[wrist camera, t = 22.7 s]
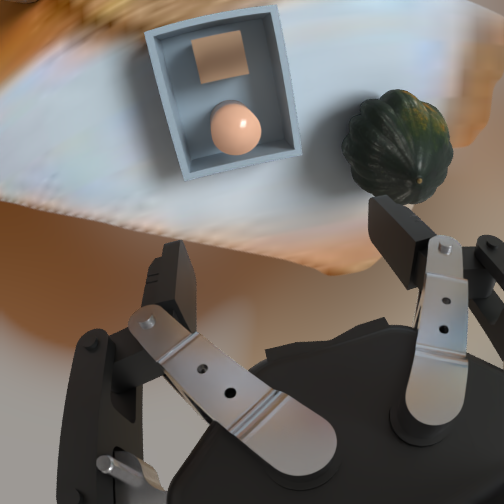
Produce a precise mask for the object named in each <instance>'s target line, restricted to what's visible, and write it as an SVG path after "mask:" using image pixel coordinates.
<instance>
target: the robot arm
mask: <svg viewBox="0 0 504 504" xmlns="http://www.w3.org/2000/svg"><path fill="white" fill-rule="evenodd" d="M6 1H12V2H19V3H31V2H35V1H37V0H6ZM368 232H369V237H370V239H371V241H372V243H373V244H374V246H375V247H376V248H377V250H378V251H379V252H380V253H381V255H382V256H383V257H384V259H385V260H386V261H387V263H388V264H389V265H390V267H391V268H392V270H393V271H394V272H395V274H396V275H397V276H398V278H399V279H400V281H401V282H402V283H403V285H404V286H405V288H406V289H407V290H410V289H413V288H416V287H418V288H419V292H418V297H417V303H416V309H415V314H414V319H413V325H412V327H408V326H403V325H389V324H388V323H387V321H386V319H385V317H383V318H379V319H376V320H373V321H370V322H367V323H364V324H360V325H358V326H355V327H354V328H352V329H350V330H348V331H346V332H345V333H343V334H341V335H339V336H337V337H336V338H334V339H332V340H329V341H315V342H314V341H313V342H295V343H291V344H287V345H283V346H279V347H275V348H270V349H266V350H265V352H266V357H267V359H265V360H263V361H261V362H259V363H258V364H256V365H255V366H253V367H252V368H250V369H249V370H248V371H247V370H246V369H245V368H243V367H242V366H241V365H239V364H238V363H237V362H236V361H234V360H233V359H232V358H230V357H229V356H228V355H226V354H225V353H224V352H223V351H221V350H220V349H219V348H217V347H216V346H215V345H214V344H213V343H211V342H210V341H209V340H207V339H206V338H205V337H204V336H203V335H201V334H200V333H198V332H196V277H195V273H194V270H193V266H192V264H191V261H190V259H189V256H188V253H187V251H186V248H185V245H184V243H183V241H182V240H178V241H174V242H170V243H167V244H164V247H163V252H162V257H159V258H155V259H154V261H153V262H152V264H151V265H150V267H149V269H148V274H147V279H146V285H145V289H144V294H143V299H142V305H141V308H140V309H138V310H137V311H135V312H134V313H133V314H132V316H131V317H130V319H129V321H128V327H127V328H125V329H123V330H121V331H119V332H117V333H114V334H112V335H110V336H109V335H108V334H107V332H106V331H104V330H103V329H93V330H90V331H88V332H87V333H85V334H84V335H83V336H82V337H81V338H80V339H79V341H78V343H77V345H76V350H75V354H74V358H73V363H72V368H71V373H70V378H69V383H68V389H67V394H66V400H65V406H64V414H63V420H62V428H61V436H60V445H59V456H58V469H57V489H56V490H57V491H56V500H57V504H504V303H503V302H502V300H501V299H500V298H499V296H498V295H497V294H496V292H495V291H494V290H493V288H494V285H495V283H496V282H497V283H498V284H499V285H500V286H501V288H502V289H503V291H504V242H502V241H501V240H500V239H498V238H497V237H495V236H491V235H482V236H480V237H479V238H478V239H477V243H476V247H461V245H460V243H459V242H458V241H457V240H455V239H454V238H452V237H449V236H445V235H436V234H435V233H434V232H433V231H432V230H431V229H430V228H429V227H428V226H427V225H426V224H425V223H424V222H423V221H421V219H420V218H419V217H418V216H416V215H415V214H414V213H413V212H412V211H411V210H410V209H409V208H407V207H405V206H403V205H401V204H399V203H398V204H396V203H395V202H394V201H393V200H392V199H391V198H390V197H389V196H387V195H382V196H377V197H372V198H370V199H369V212H368ZM468 307H469V308H470V310H471V311H472V313H473V314H474V316H475V317H476V319H477V320H478V322H479V323H480V325H481V327H482V328H483V330H484V331H485V333H486V334H487V336H488V338H489V339H490V341H491V342H492V344H493V346H494V348H495V349H496V351H497V353H498V354H499V356H500V358H501V359H502V361H503V369H501V368H498V367H496V366H494V365H492V364H490V363H487V362H486V361H484V360H481V359H479V358H477V357H475V356H473V355H471V354H469V353H467V352H466V348H467V347H466V346H467V332H468ZM160 376H163V378H164V379H165V380H166V381H167V382H168V383H169V384H170V385H171V386H172V387H173V388H174V390H176V392H177V393H178V394H179V395H180V396H181V397H182V398H183V399H184V400H185V401H186V402H187V403H188V404H189V405H190V406H191V407H192V408H193V410H194V411H195V412H196V413H197V414H198V415H199V416H200V417H201V418H202V419H203V420H204V421H205V422H206V423H207V424H208V425H209V427H208V428H207V430H206V431H205V433H204V434H203V436H202V437H201V439H200V440H199V442H198V443H197V445H196V446H195V447H194V449H193V450H192V452H191V453H190V455H189V456H188V458H187V459H186V460H185V462H184V463H183V465H182V466H181V468H180V469H179V470H178V472H177V473H176V475H175V476H174V477H173V479H172V481H171V483H170V485H169V488H168V491H165V490H164V489H163V487H162V486H161V484H160V482H159V478H158V474H157V472H156V471H155V469H154V468H153V467H152V466H151V465H149V464H147V463H146V462H144V461H143V431H142V430H143V429H142V394H143V392H142V391H143V384H144V383H146V382H148V381H151V380H153V379H155V378H158V377H160Z"/></svg>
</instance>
